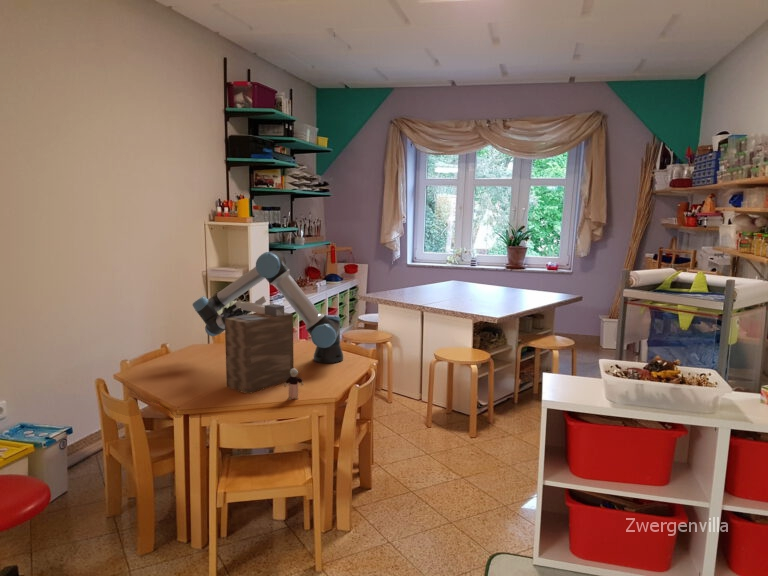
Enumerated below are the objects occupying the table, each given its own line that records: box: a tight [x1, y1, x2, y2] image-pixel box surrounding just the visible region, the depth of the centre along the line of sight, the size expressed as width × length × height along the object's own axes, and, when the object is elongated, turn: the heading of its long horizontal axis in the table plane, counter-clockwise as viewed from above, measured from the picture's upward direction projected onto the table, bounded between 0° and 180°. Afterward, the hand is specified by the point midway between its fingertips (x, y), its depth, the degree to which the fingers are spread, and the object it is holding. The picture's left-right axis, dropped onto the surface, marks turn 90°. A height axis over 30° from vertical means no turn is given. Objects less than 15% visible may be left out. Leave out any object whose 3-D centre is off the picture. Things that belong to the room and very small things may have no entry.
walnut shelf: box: [224, 311, 295, 395], centre depth 244 cm, size 14×26×30 cm, turn 143°
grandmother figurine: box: [284, 367, 304, 401], centre depth 226 cm, size 8×4×13 cm, turn 114°
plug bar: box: [240, 301, 285, 316], centre depth 250 cm, size 26×5×4 cm, turn 53°
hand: (252, 300), depth 253 cm, fingers open, 13 cm apart
